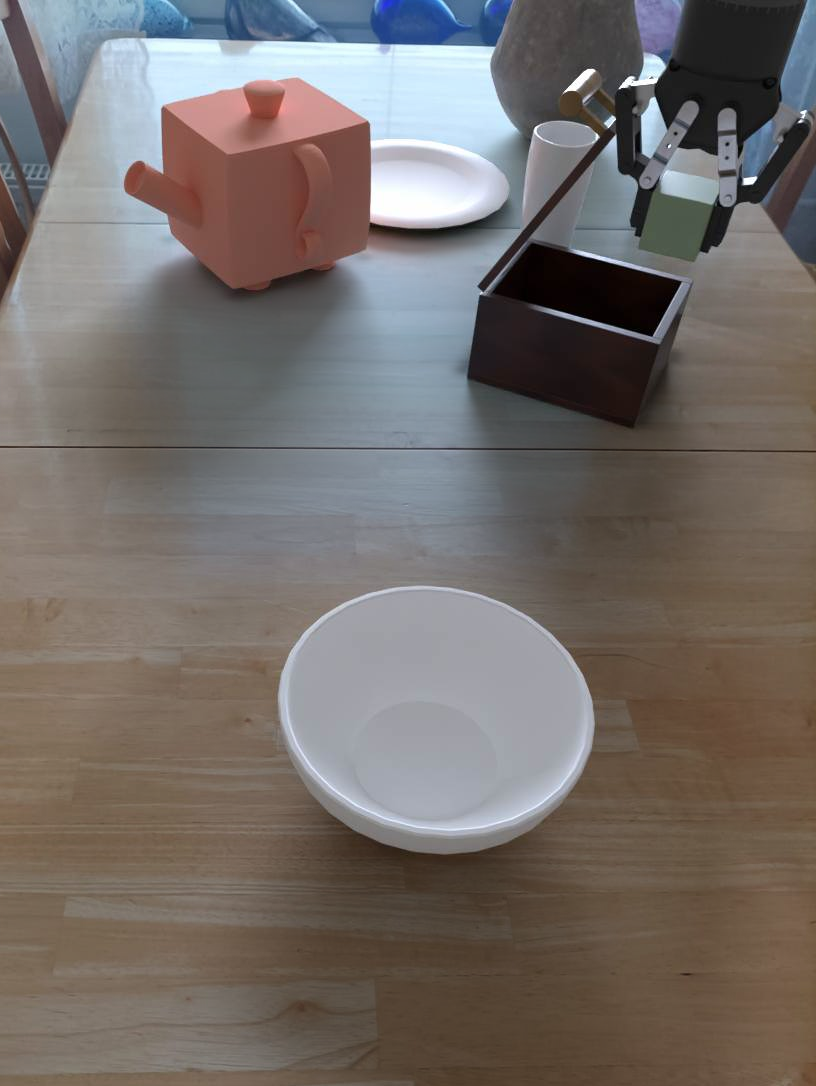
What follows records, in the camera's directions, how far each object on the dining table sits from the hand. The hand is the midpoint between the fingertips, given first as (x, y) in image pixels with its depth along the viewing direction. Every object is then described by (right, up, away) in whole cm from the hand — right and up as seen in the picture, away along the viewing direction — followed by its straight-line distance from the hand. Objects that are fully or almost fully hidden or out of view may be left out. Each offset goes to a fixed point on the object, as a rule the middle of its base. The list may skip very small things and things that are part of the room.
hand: (673, 239), depth 75 cm
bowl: (-20, -39, -10) cm, 45 cm away
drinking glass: (-3, +10, +35) cm, 36 cm away
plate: (-17, +25, +47) cm, 56 cm away
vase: (+4, +39, +60) cm, 72 cm away
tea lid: (-6, +8, +10) cm, 14 cm away
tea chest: (-3, -4, +22) cm, 22 cm away
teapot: (-37, +11, +34) cm, 51 cm away
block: (0, 0, 0) cm, 0 cm away
